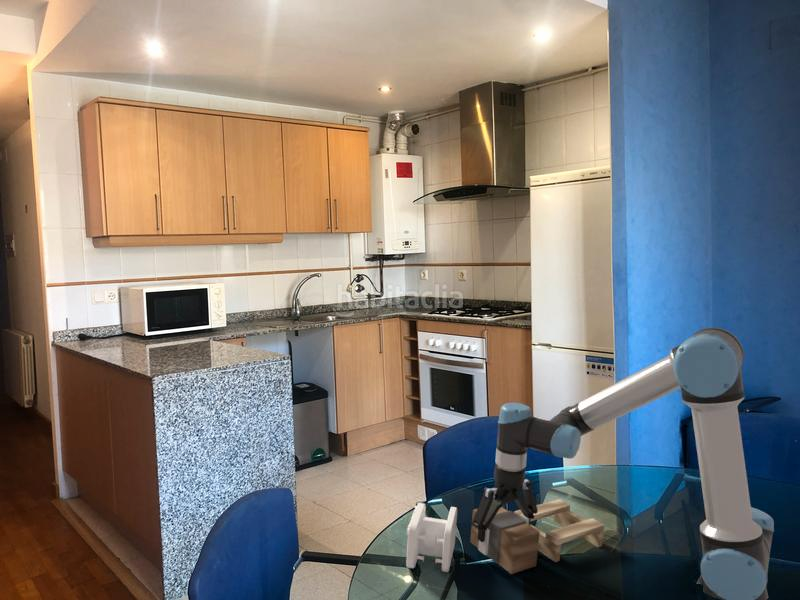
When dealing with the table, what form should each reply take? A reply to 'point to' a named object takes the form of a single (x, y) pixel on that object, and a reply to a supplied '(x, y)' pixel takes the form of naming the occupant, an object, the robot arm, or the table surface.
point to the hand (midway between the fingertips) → (502, 546)
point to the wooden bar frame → (564, 528)
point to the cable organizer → (431, 537)
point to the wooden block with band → (510, 541)
